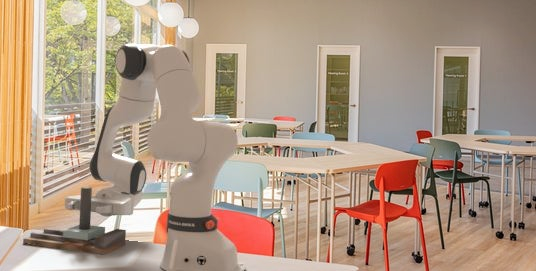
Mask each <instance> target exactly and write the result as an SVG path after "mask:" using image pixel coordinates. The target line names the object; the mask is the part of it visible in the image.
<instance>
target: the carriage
mask: <svg viewBox="0 0 536 271" xmlns="http://www.w3.org/2000/svg"><path fill="white" fill-rule="evenodd" d="M92 189H93V187H91V186H90V187H89V186H83V187H80V195H81V201H80V210H79V224H77V225H75V226H72V227H69V228H66V229H63V237H67V238H74V239H82V240H90V239H92V238H95V237H97V236H99V235H102V234H105V233H106V227H105V226H99V225H91V216H92V215H91V214H92V212H91V197H92V196H93V195H92V193H93V190H92Z"/></svg>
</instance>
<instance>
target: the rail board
mask: <svg viewBox="0 0 536 271" xmlns="http://www.w3.org/2000/svg"><path fill="white" fill-rule="evenodd" d="M63 230H64V229H63ZM63 230H62V229H56V228H47V227H46V228H43V231H42V232H34V231H32V232H30V236H27V237H24V238H23V241H22V243H30V244H35V245H34V246H36V245H39V246H38V247H45V248H53V249H60V250H67V251H68V250H69V251H75V252H80V253H81V252H83V253H89V254H96V255H105V254H108V253H110V252H112V251H115V250H117V249H119V248H121V247H124V246H125V245H126V235H127V234H126V231H127V230H126V229H120V228H116V229H113V230H111V231H108V232H105V234H102V235H99V236H97V237H95V238H92V239H90V240H82V239H74V238H67V237H63Z"/></svg>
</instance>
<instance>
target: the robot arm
mask: <svg viewBox="0 0 536 271" xmlns="http://www.w3.org/2000/svg"><path fill="white" fill-rule="evenodd" d="M190 64H191V63H190V60H189V56H188V54H187V53H186V51H185V50H182V49H181V48H180V47H178V46H177V45H172V44H165V45H158V44H150V43H149V44H145V43H144V44H143V43H141V44H136V43H126V44H123V45H122V46H120V47H119V48H118V50H117V52H116V55H115V67H116V71H117V73H118V75H119V76H120V77H121V82H120V88H119V93H118V99H117V101H116V104H115V105H114V106H111V107H110V108H109V109H108V111H107V112H106V113H105V116H104V120H103V124H102V126H101V129H100V133H99V137H98V140H97V143H96V146H95V150H94V153H93V154H92V157H91V160H90V162H89V166H88V169H89V172H90V174H91V176H92V178H93V179H94V180H96V181H99V182H105V183H109V184H112V185H113V186H110V187H105V188H102V189H100V190H98V191H97V192H96V193H95V195H92V197H91V213H95V214H99V215H100V216H101V217H111V216H113V217H114V216H131V215H133V214H134V208H135V207H136V206H138V205H139V204H140V202H141V201H142V199H143V188H144V187H145V184H146V182H147V170H146V168H145V164H144V163H143V162H142V161H141V160H137V159H135V158H131V157H127V156H124V155H120V154H118V153H115V152H114V150H113V148H114V145H115V142H116V138H117V135H118V131H119V129H120V128H121V127H123V126H124V127H125V126H132V125H137V124H140V123H143V122H145V121H146V120H148V119H149V118H150V117H151V116H152V113H153V112H154V107H155V101H156V94H157V95H158V100H159V104H160V117H159V118H158V120H157V121H156V122H155V123H154V124H153V125H152V126H151V127H150V129H149V131H148V133H147V138H146V144H147V145H146V146H147V149H148V151H149V153H150V155H151V156H152V157H153V158H154V159H156V160H158V161H159V160H161V161H165V162H169V163H188V164H187V168H186V169H185V171H184V172H183V173H182V174H181V175H180V176H178V177H177V178H175V179H174V180H173V182H172V183H171V186H170V192H169V195H170V196H169V208H168V209H169V210H168V211H169V212H167V216H166V217H167V218H166V243H165V247H164V252H163V256H162V259H161V262H160V265H159V266H160V268H161V269H162V270H164V271H244V269H245V270H246V263H244V262H243V261H239V258H238V250H237V247H236V245H235V244H234V243H233V242H232V241H231V240H230V239H229V238H228V237H227V236H225V234H223V233H222V232H221V231H220V230H218V224H219V222H220V217H217V218H216V217H215V216H214V215H213V214H212V205H213V194H214V187H215V184H216V181H217V178H218V175H219V173H220V171H221V169H222V168H223V166H224V165H225V163H227V161H228V160H229V159H230V158H232V157H233V156H234V154H235V153H236V152H237V149H238V140H239V139H238V135H237V132H236V130H235V129H234V127H233V126H232V125H229V124H226V123H223V122H219V121H216V120H215V121H213V120H212V121H210V120H197V119H193V116H192V113H194V112H195V111H196V110H197V109H198V108H199V106H200V105H201V100H202V95H201V91H200V88H199V86H198V83H197V80H196V77H195V74H194V72H193V69H192V67H191V65H190ZM156 92H157V93H156ZM80 201H81V194H77V195H76V194H75V195H69V196H66V197H65V198H64V208H65V210H67V211H74V210H75V211H80Z"/></svg>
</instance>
